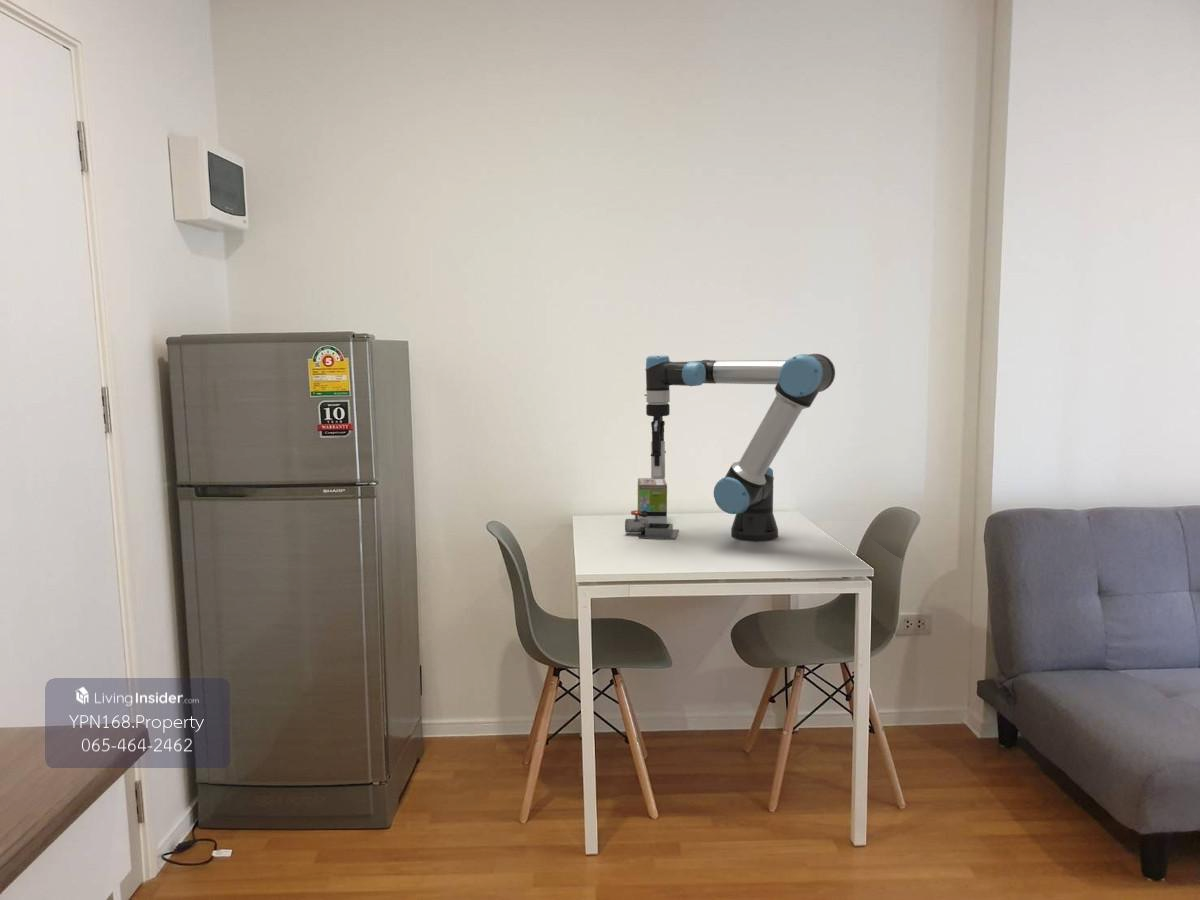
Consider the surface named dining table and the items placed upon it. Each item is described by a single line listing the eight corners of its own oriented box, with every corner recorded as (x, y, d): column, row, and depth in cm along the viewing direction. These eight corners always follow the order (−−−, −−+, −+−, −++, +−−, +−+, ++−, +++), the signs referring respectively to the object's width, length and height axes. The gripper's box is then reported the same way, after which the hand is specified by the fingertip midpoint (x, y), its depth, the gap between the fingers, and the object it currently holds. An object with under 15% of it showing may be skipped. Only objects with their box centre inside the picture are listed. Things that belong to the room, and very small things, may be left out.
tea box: (667, 526, 295) (667, 484, 293) (638, 526, 295) (638, 484, 293) (665, 516, 310) (664, 476, 308) (637, 517, 310) (636, 477, 308)
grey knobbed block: (679, 531, 287) (679, 508, 286) (675, 539, 275) (675, 516, 274) (629, 529, 290) (628, 507, 289) (623, 538, 279) (622, 515, 278)
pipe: (665, 476, 282) (665, 440, 280) (664, 479, 277) (663, 442, 276) (652, 476, 282) (651, 440, 281) (650, 479, 278) (650, 442, 276)
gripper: (650, 401, 286) (650, 470, 289) (642, 405, 269) (643, 478, 272) (672, 401, 284) (672, 470, 287) (666, 405, 267) (666, 479, 270)
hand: (658, 474), depth 280 cm, fingers closed on pipe, 4 cm apart
